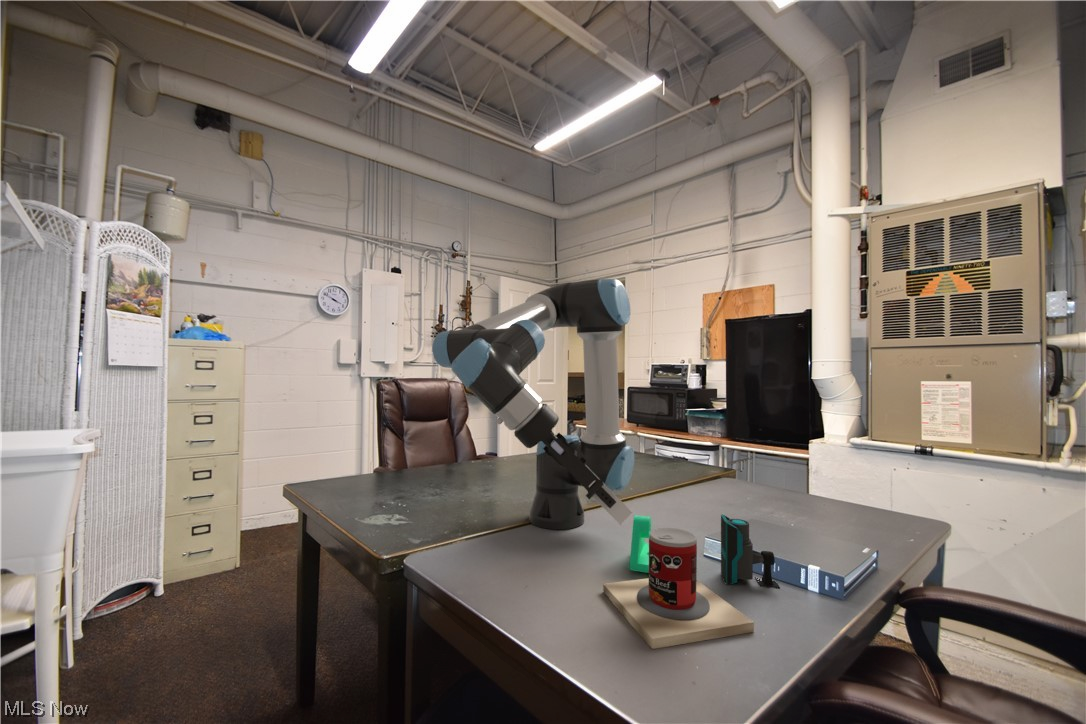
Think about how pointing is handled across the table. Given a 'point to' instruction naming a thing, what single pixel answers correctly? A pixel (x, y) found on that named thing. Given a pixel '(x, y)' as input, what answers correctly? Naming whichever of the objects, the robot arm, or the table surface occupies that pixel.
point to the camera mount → (640, 544)
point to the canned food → (672, 568)
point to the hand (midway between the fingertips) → (614, 505)
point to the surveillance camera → (742, 554)
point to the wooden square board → (676, 615)
